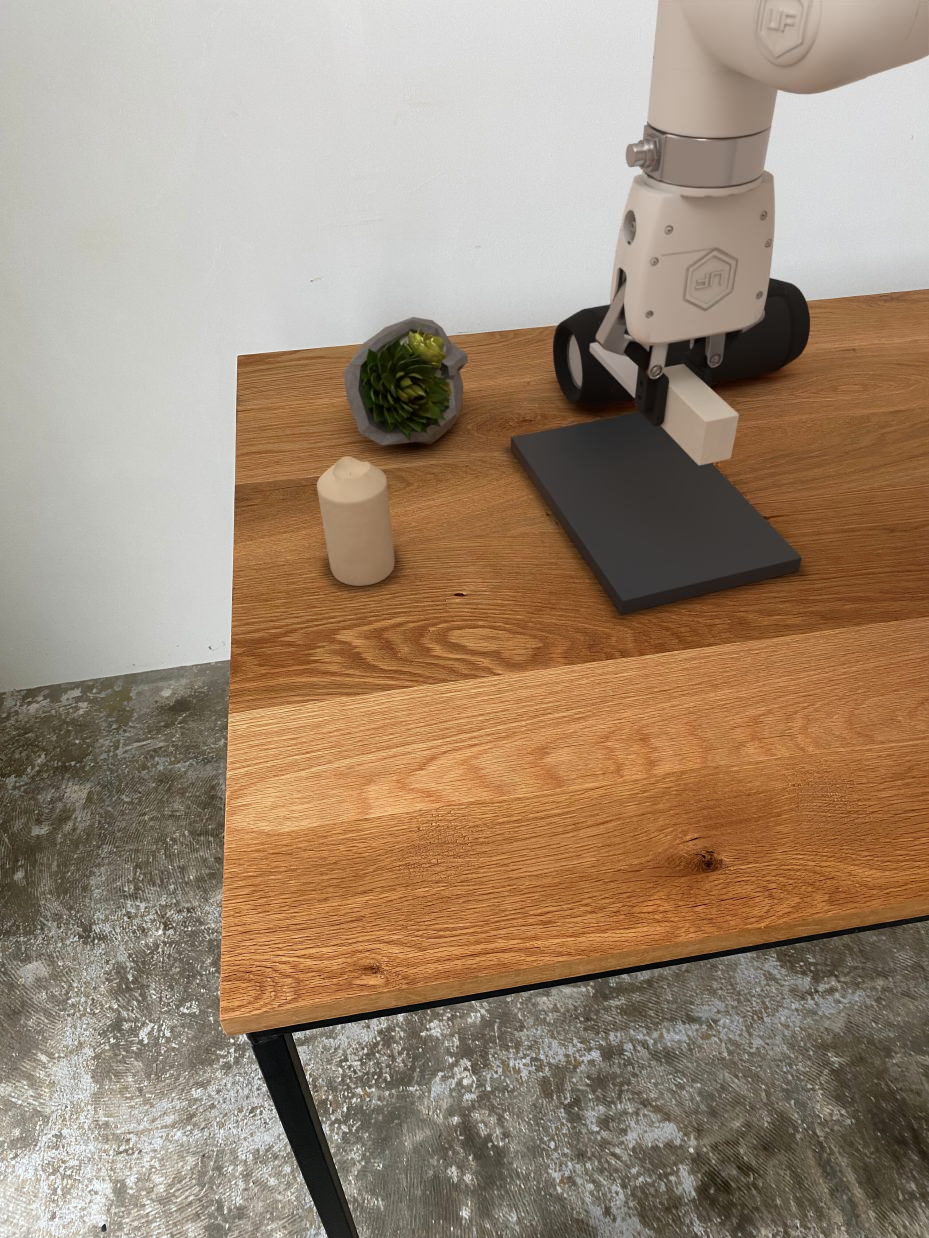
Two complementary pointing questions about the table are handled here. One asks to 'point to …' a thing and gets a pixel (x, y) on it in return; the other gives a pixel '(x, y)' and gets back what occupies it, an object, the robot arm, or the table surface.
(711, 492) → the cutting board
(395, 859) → the table surface
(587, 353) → the portable speaker
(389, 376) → the potted plant
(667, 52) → the robot arm
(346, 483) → the candle
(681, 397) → the white stepped bar
